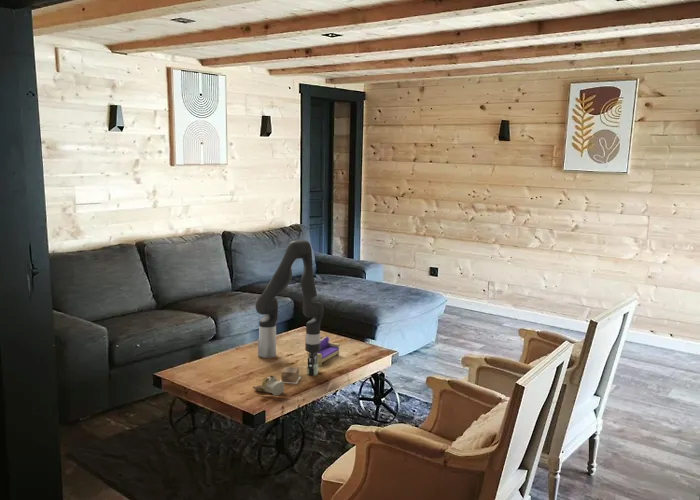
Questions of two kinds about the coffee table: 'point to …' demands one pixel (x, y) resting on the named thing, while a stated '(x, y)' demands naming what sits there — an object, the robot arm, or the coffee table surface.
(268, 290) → the robot arm
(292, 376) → the walnut base block
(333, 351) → the toy sofa
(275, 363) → the coffee table surface
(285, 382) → the mat
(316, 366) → the sage cube
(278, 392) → the ceramic sculpture
